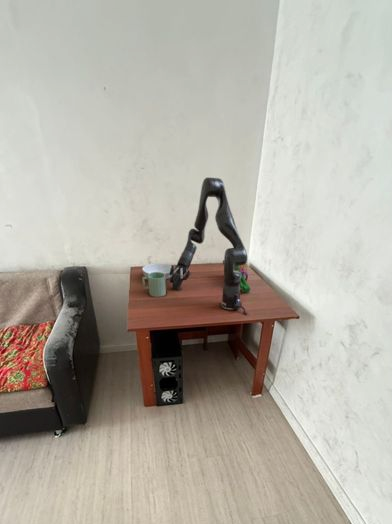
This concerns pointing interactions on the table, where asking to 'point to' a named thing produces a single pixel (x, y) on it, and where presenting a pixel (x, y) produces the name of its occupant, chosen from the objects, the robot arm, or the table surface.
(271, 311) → the table surface
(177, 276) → the remote
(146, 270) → the serving bowl
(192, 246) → the robot arm
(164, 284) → the green coffee mug
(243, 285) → the bouquet
